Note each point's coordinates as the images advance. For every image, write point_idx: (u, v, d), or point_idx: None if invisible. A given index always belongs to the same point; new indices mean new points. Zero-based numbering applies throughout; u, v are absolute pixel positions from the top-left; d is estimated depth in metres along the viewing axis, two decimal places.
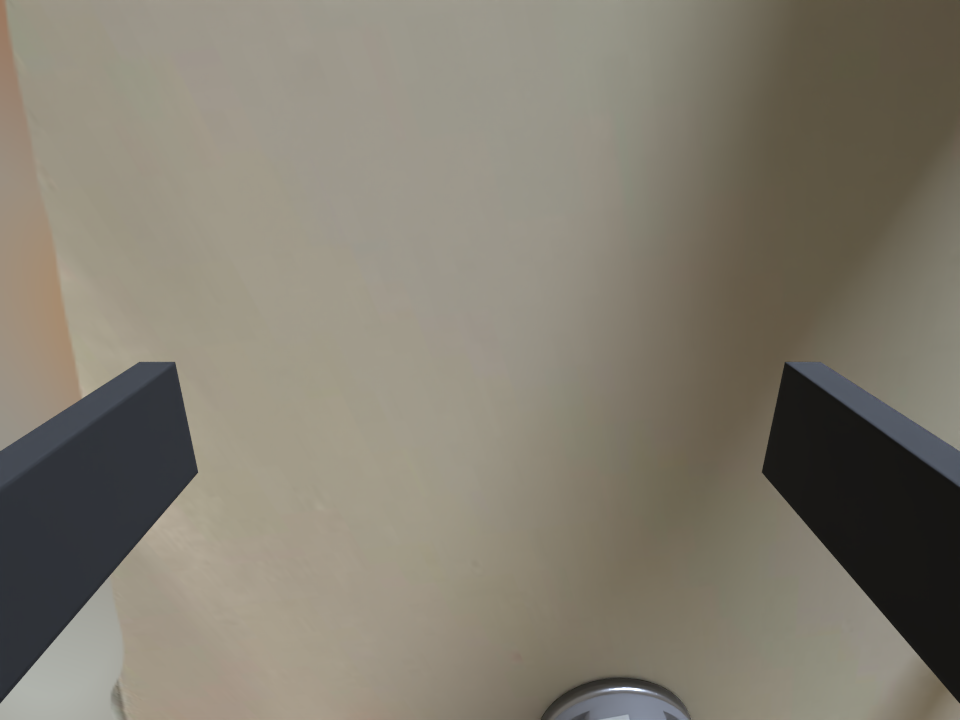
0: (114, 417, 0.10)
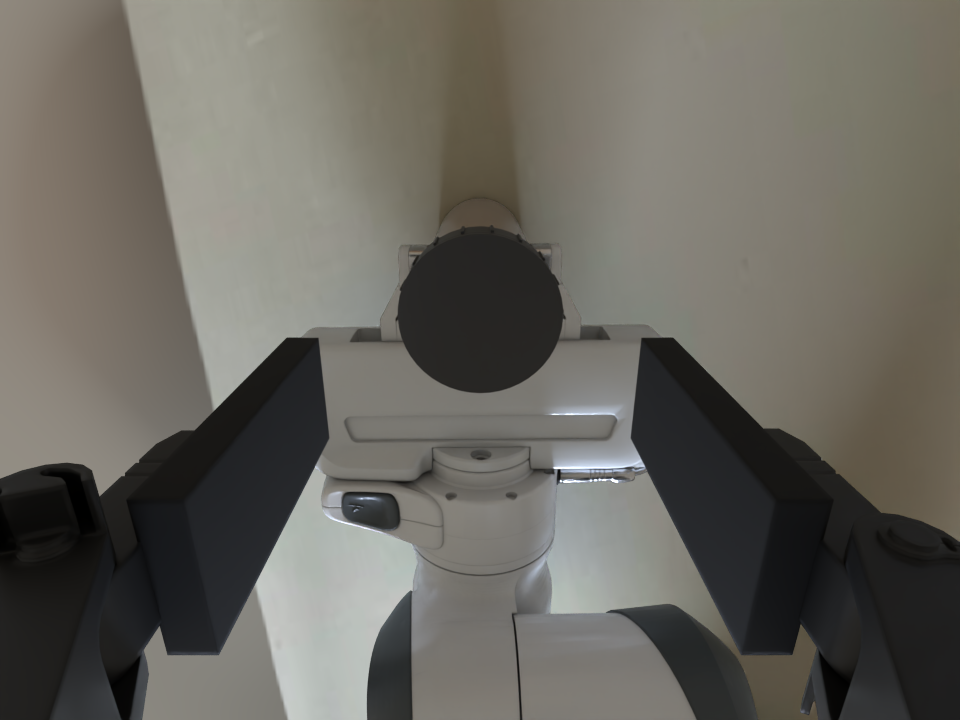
0: (290, 381, 0.11)
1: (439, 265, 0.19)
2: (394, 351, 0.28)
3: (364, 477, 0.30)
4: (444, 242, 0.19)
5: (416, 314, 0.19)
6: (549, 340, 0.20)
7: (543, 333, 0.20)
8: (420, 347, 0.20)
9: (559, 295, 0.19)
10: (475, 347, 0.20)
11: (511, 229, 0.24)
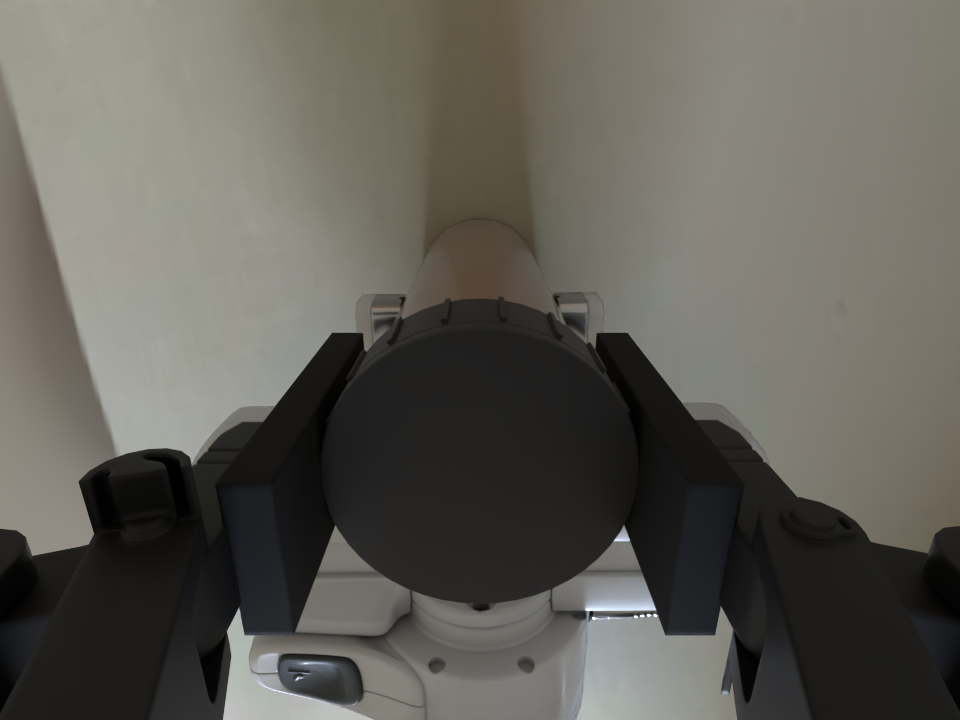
0: (343, 374, 0.12)
1: (398, 386, 0.09)
2: None
3: (311, 630, 0.20)
4: (407, 343, 0.09)
5: (356, 474, 0.10)
6: (611, 518, 0.10)
7: (600, 507, 0.10)
8: (366, 530, 0.10)
9: (634, 440, 0.10)
10: (470, 530, 0.10)
11: (531, 284, 0.15)
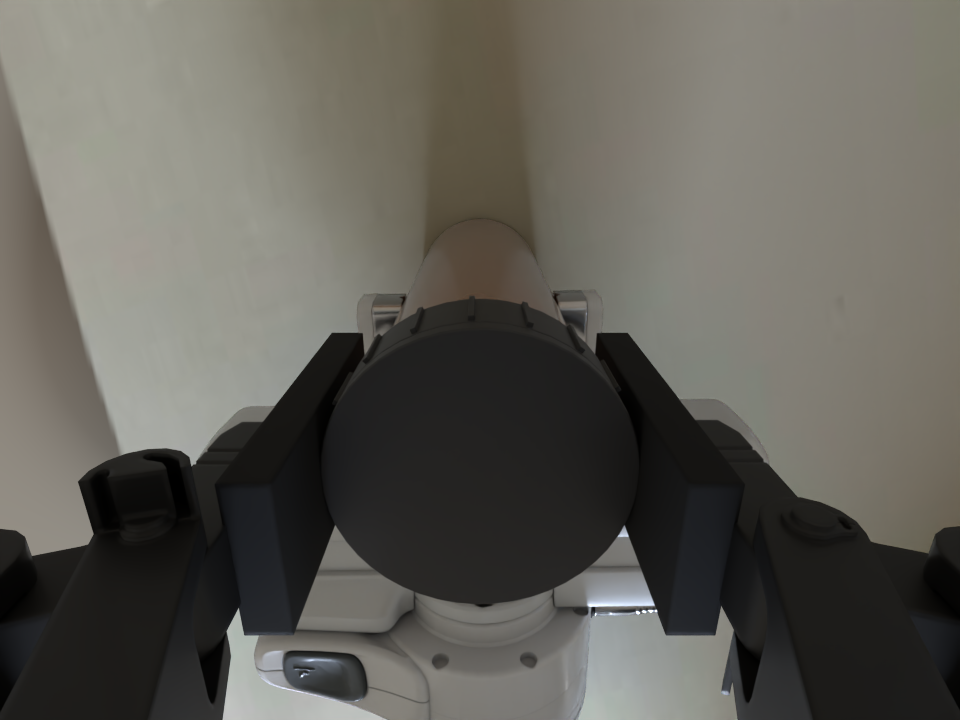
0: (343, 374, 0.12)
1: (416, 567, 0.11)
2: None
3: (315, 627, 0.21)
4: (377, 568, 0.11)
5: (514, 573, 0.11)
6: (473, 346, 0.09)
7: (463, 364, 0.09)
8: (573, 552, 0.11)
9: (376, 364, 0.09)
10: (540, 470, 0.10)
11: (530, 282, 0.15)
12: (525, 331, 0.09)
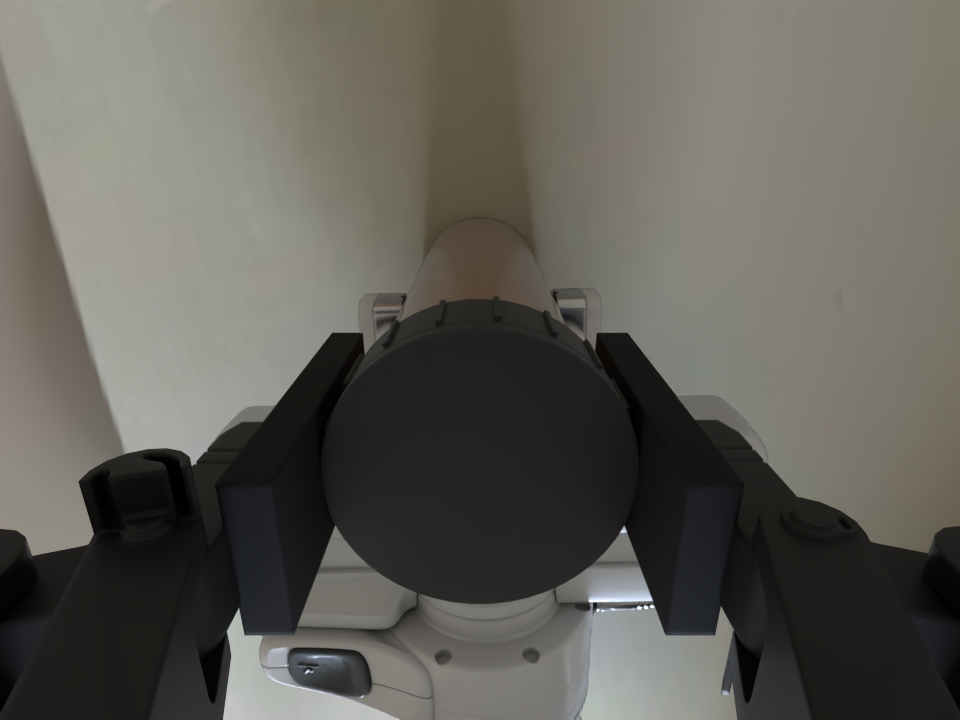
0: (343, 374, 0.12)
1: (602, 501, 0.10)
2: None
3: (319, 624, 0.21)
4: (618, 529, 0.11)
5: (581, 411, 0.10)
6: (353, 527, 0.10)
7: (371, 530, 0.10)
8: (531, 365, 0.09)
9: (404, 585, 0.11)
10: (445, 435, 0.10)
11: (528, 280, 0.15)
12: (324, 490, 0.10)
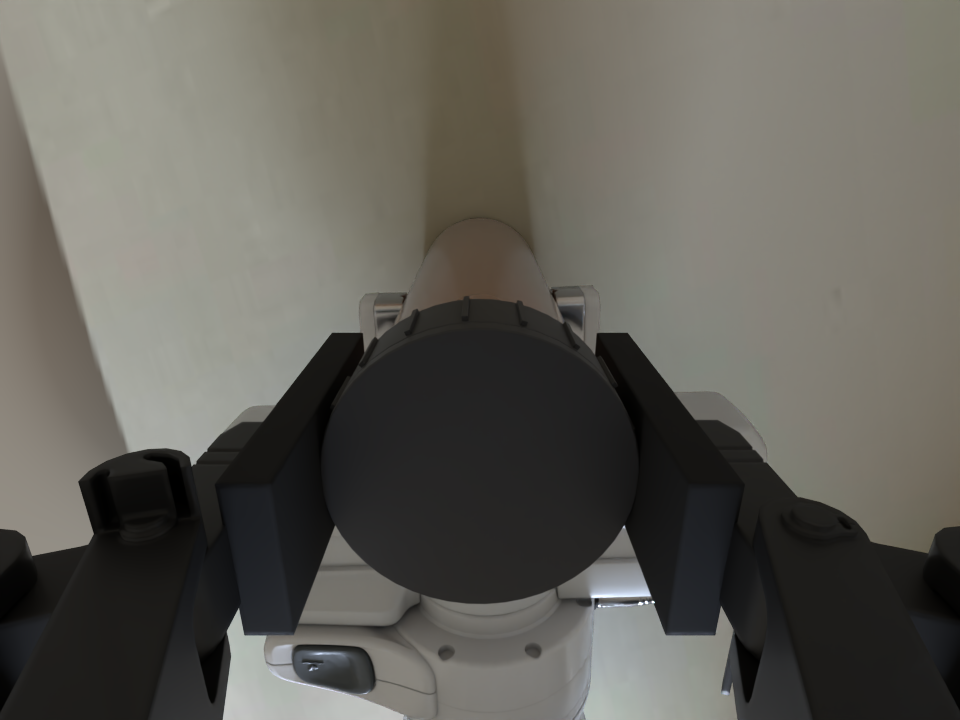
0: (343, 374, 0.12)
1: (456, 363, 0.09)
2: None
3: (323, 621, 0.21)
4: (486, 328, 0.09)
5: (369, 424, 0.10)
6: (573, 563, 0.11)
7: (570, 549, 0.11)
8: (347, 480, 0.10)
9: (630, 504, 0.10)
10: (444, 521, 0.10)
11: (527, 278, 0.15)
12: None
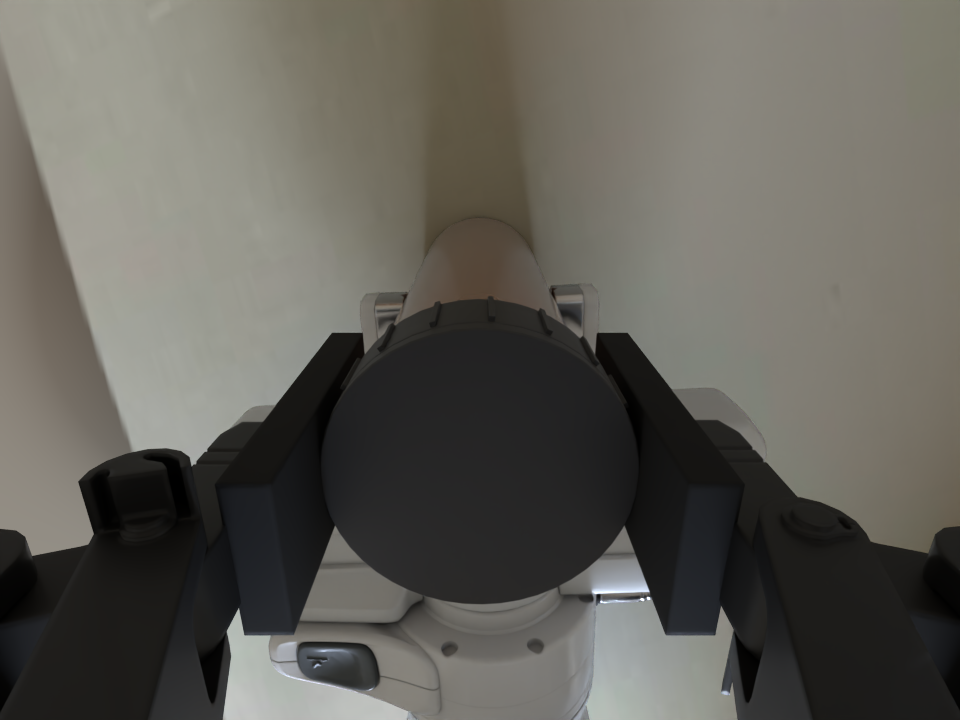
0: (343, 374, 0.12)
1: (374, 534, 0.11)
2: None
3: (327, 619, 0.21)
4: (335, 520, 0.10)
5: (460, 577, 0.11)
6: (544, 360, 0.09)
7: (527, 371, 0.09)
8: (523, 579, 0.11)
9: (448, 334, 0.09)
10: (537, 494, 0.10)
11: (525, 276, 0.15)
12: (593, 368, 0.09)
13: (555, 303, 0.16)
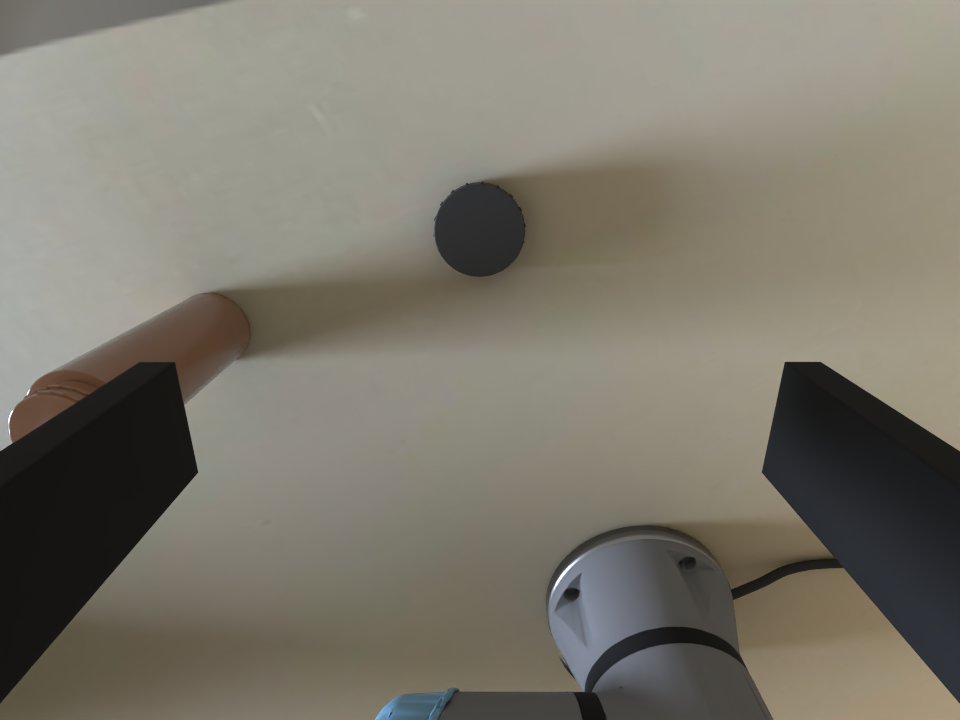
0: (114, 417, 0.10)
1: (448, 250, 0.36)
2: None
3: None
4: (437, 246, 0.36)
5: (473, 266, 0.36)
6: (496, 193, 0.35)
7: (492, 196, 0.35)
8: (492, 266, 0.36)
9: (471, 186, 0.35)
10: (496, 236, 0.36)
11: None
12: (510, 196, 0.35)
13: None
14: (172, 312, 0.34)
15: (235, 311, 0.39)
